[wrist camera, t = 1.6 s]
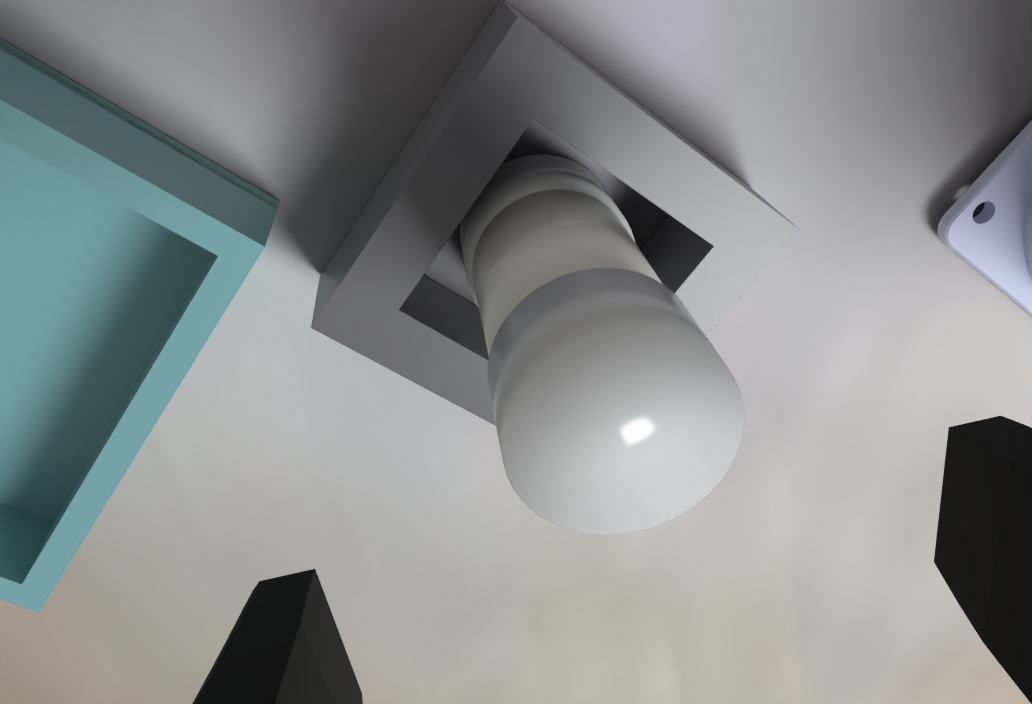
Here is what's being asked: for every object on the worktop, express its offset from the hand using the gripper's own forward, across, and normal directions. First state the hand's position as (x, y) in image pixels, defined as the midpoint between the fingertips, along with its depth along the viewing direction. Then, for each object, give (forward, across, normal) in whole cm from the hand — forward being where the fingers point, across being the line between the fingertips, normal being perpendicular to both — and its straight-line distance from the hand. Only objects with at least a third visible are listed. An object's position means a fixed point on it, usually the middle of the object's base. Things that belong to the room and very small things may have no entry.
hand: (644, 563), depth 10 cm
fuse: (+10, 0, 0) cm, 10 cm away
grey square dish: (+10, 0, 0) cm, 10 cm away
